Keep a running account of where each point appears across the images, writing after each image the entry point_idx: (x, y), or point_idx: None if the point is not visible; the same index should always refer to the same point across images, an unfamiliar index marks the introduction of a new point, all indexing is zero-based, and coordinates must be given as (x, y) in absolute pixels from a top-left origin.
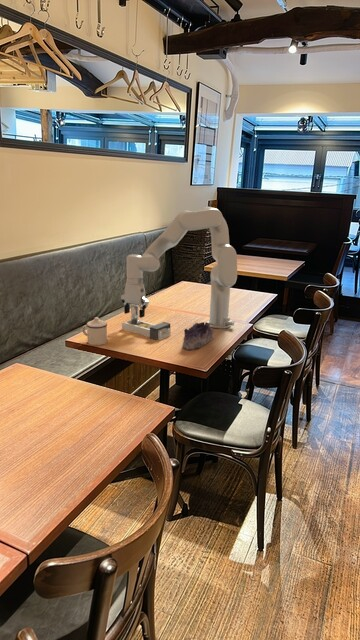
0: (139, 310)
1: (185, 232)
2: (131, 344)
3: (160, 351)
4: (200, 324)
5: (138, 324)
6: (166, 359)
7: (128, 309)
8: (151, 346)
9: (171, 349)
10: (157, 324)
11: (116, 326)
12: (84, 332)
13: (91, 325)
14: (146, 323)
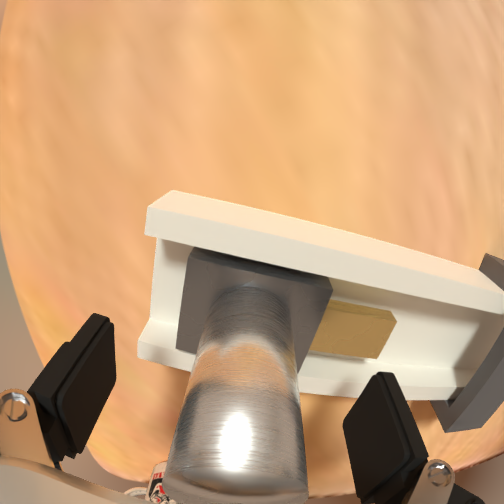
0: (358, 494)
1: None
2: (344, 458)
3: (464, 439)
4: None
5: (309, 342)
6: (474, 456)
7: (94, 373)
8: (433, 433)
9: (500, 408)
10: (495, 371)
11: (88, 284)
12: (125, 492)
13: None
14: (377, 286)
